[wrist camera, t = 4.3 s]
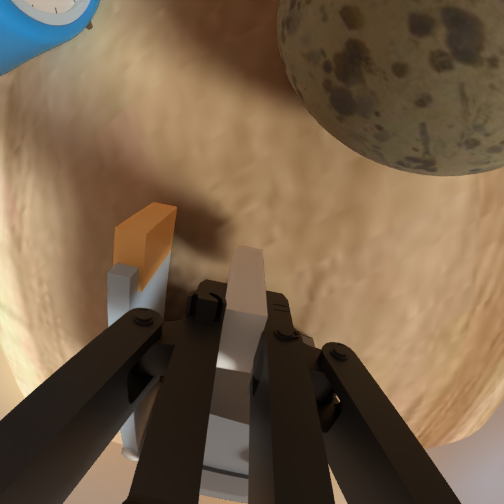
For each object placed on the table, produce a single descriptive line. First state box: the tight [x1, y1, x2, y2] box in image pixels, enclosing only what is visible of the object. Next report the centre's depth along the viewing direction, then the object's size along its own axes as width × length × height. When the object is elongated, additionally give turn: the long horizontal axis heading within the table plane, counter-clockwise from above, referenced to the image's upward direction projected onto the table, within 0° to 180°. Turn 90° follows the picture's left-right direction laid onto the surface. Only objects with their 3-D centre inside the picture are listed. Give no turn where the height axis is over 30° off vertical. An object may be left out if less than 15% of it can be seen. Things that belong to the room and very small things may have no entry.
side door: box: [107, 202, 177, 461], centre depth 16 cm, size 16×1×7 cm, turn 167°
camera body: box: [199, 335, 315, 503], centre depth 17 cm, size 11×8×10 cm
